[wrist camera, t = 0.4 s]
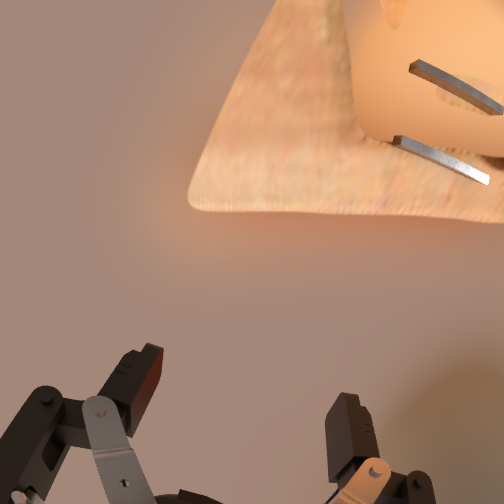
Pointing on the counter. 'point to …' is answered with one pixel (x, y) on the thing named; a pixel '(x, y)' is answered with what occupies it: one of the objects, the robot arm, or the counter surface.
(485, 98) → the guide channel
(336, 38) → the counter surface
